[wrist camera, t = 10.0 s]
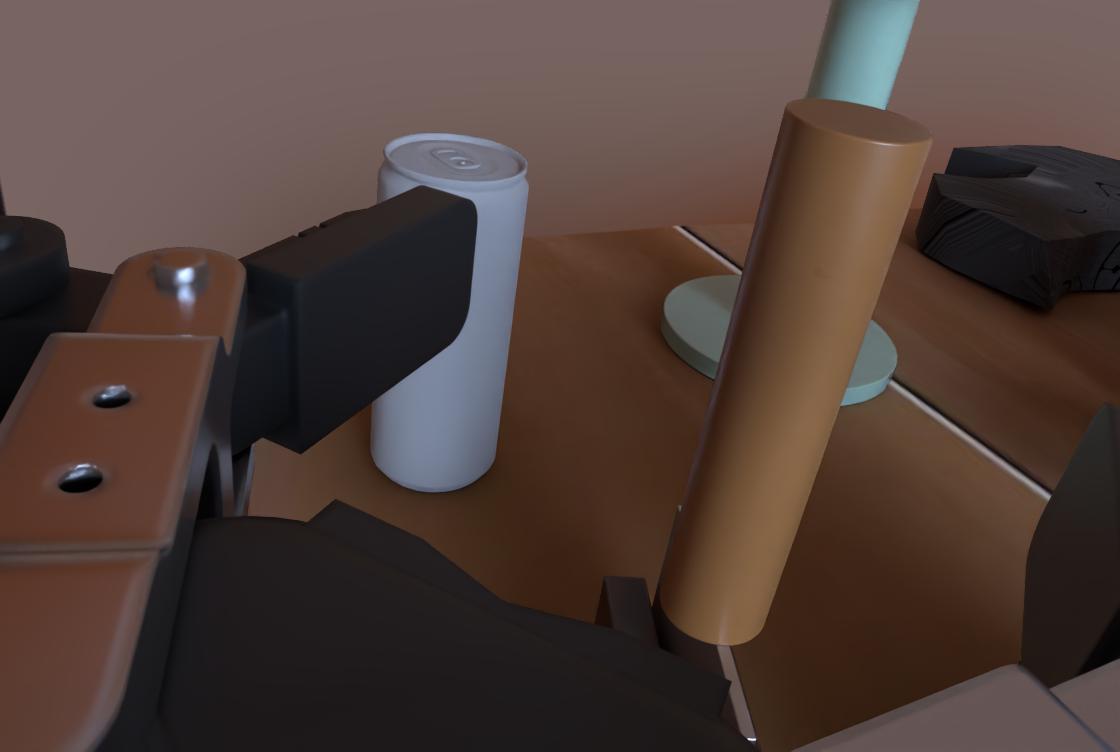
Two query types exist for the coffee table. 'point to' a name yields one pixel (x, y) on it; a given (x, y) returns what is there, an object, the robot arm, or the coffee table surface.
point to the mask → (1026, 220)
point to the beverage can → (482, 346)
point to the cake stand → (837, 73)
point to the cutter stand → (634, 614)
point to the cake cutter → (784, 372)
